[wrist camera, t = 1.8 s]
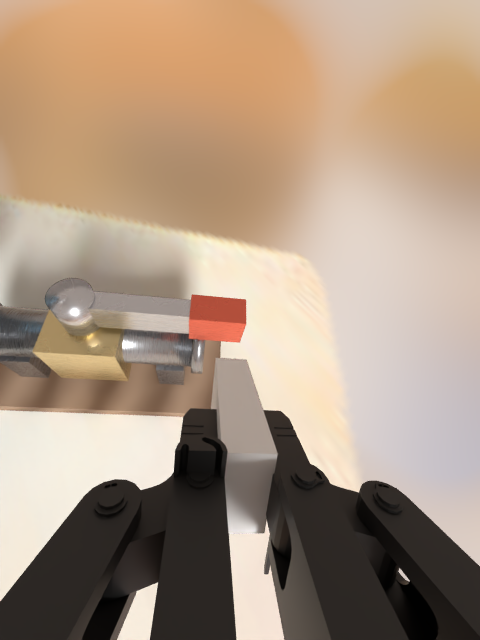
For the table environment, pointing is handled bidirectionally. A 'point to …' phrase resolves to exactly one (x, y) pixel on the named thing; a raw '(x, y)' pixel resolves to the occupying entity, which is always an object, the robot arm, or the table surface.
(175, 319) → the valve lever
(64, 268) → the table surface
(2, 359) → the pipe and valve body
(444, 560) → the robot arm
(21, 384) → the walnut base board
